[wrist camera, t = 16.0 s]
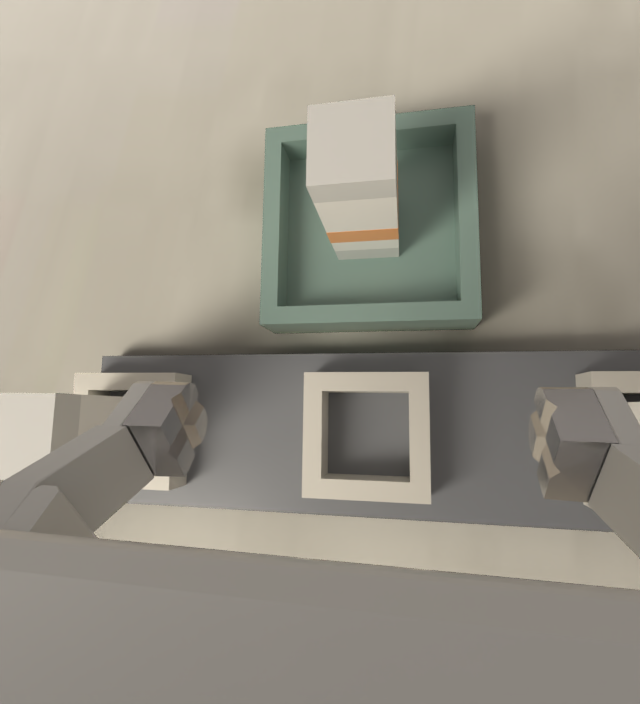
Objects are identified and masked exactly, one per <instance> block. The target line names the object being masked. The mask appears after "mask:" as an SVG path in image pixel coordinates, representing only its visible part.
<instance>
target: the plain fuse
mask: <svg viewBox="0 0 640 704" xmlns="http://www.w3.org/2000/svg"><path fill="white" fill-rule="evenodd" d="M122 398H123V397H120V396H101V395H82V394H62V393H0V480H6V479H7V478H9V477H11V476H12V475H14V474H16V473H17V472H19V471H21V470H22V469H24V468H26V467H27V466H29V465H31V464H32V463H34V462H36V461H37V460H39V459H41V458H42V457H44V456H46V455H47V454H49V453H51V452H52V451H54V450H56V449H57V448H59V447H61V446H63V445H64V444H66V443H68V442H69V441H71V440H73V439H74V438H76V437H78V436H79V435H81V434H83V433H84V432H86V431H88V430H89V429H91V428H93V427H94V426H96V425H102V424H103V423H104V422H105V420H106V419H107V418H108V416H109V415H110V414H111V412H112V411H113V410H114V408H115V407H116V406H117V404H118V403H119V402H120V400H121V399H122Z"/></svg>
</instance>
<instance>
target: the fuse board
mask: <svg viewBox="0 0 640 704" xmlns="http://www.w3.org/2000/svg"><path fill="white" fill-rule="evenodd" d="M138 381H153V382H155V381H164V382H190V383H193V384H195V386H196V388H197V390H198V393H199V395H198V397H197V399H196V401H198V402H199V403H200V404H201V405H203V406H204V408H205V411H206V413H207V420H208V424H207V431H206V435H205V437H204V439H203V441H202V443H200V444H199V445H198V446H196V447H195V448H194V449H193V450H194V453H195V458H194V460H193V462H192V464H191V466H190V468H189V470H188V472H187V474H186V476H185V477H166V476H154V479H153V480H151V481H150V482H149V483H148V484H147V485H146V486H145V487H144V488H142V489H141V490H140V491H139V492H138V493H137V494H136V495H135V496H134V497H132V498H131V499H130V500H129V501H128V502H127V503H130V504H147V505H164V506H181V507H198V508H215V509H232V510H248V511H265V512H282V513H299V514H316V515H333V516H350V517H367V518H384V519H401V520H418V521H435V522H451V523H468V524H485V525H502V526H519V527H536V528H553V529H570V530H587V531H604V532H614V531H613V530H612V529H611V528H610V527H609V526H608V525H607V524H606V523H605V522H604V521H603V520H602V519H601V518H600V517H599V516H598V515H597V514H596V513H595V512H594V511H593V510H592V509H591V507H590V506H589V505H588V503H587V502H575V501H564V500H552V499H544V498H543V494H542V490H541V487H540V483H539V480H538V476H537V469H538V465H539V462H538V461H537V460H536V459H535V458H534V457H532V454H531V450H530V445H529V438H528V432H529V421H530V415H531V414H532V413H534V412H535V411H536V410H537V409H536V406H535V403H534V397H535V393H536V391H537V389H538V387H588V388H589V387H617V388H618V389H620V390H621V392H622V394H623V396H624V398H625V399H626V401H627V402H640V350H605V351H516V352H427V353H338V354H249V355H160V356H103V358H102V371H101V373H75V377H74V389H73V394H82V395H101V396H120V397H123V396H124V395H125V394H126V392H127V391H128V390H129V388H130V387H131V386H132V384H133V383H136V382H138Z"/></svg>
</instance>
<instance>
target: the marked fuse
mask: <svg viewBox="0 0 640 704" xmlns="http://www.w3.org/2000/svg"><path fill="white" fill-rule="evenodd" d="M306 188H307V190H308V192H309V194H310V197H311V199H312V201H313V203H314V206H315V208H316V210H317V212H318V215H319V217H320V219H321V221H322V224H323V226H324V228H325V230H326V234H327V236H328V238H329V240H330V243H331V244H332V246H333V248H334V250H335V253H336V255H337V257H338V259H339V260H348V259H368V258H388V257H399V195H398V160H397V139H396V110H395V95H388V96H380V97H372V98H363V99H355V100H346V101H338V102H330V103H321V104H313V105H308V109H307V159H306Z"/></svg>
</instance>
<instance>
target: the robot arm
mask: <svg viewBox="0 0 640 704" xmlns="http://www.w3.org/2000/svg"><path fill="white" fill-rule="evenodd" d="M198 395H199V393H198V390H197V388H196V386H195V384H193V383H190V382H164V381H155V382H153V381H138V382H136V383H133V384H132V386H131V387H130V388H129V390H128V391H127V392H126V394H125V395H124V396H123V398H122V399H121V400H120V402H119V403H118V404H117V406H116V407H115V408H114V410H113V411H112V412H111V414H110V415H109V416H108V418H107V419H106V420H105V422H104V423H103V424H102V425H96V426H94V427H93V428H91V429H89V430H88V431H86V432H84V433H83V434H81V435H79V436H78V437H76V438H74V439H73V440H71V441H69V442H68V443H66V444H64V445H63V446H61V447H59V448H57V449H56V450H54V451H52V452H51V453H49V454H47V455H46V456H44V457H42V458H41V459H39V460H37V461H36V462H34V463H32V464H31V465H29V466H27V467H26V468H24V469H22V470H21V471H19V472H17V473H16V474H14V475H12V476H11V477H9V478H7V479H6V480H4V481H3V482H2V483H1V484H0V704H640V590H635V589H624V588H614V587H603V586H593V585H582V584H572V583H561V582H551V581H541V580H530V579H520V578H509V577H499V576H488V575H477V574H467V573H456V572H446V571H435V570H424V569H414V568H403V567H393V566H382V565H371V564H361V563H350V562H340V561H329V560H319V559H308V558H298V557H288V556H277V555H267V554H256V553H246V552H235V551H225V550H215V549H204V548H194V547H183V546H173V545H162V544H152V543H141V542H131V541H120V540H110V539H99V538H97V537H96V535H95V534H94V533H93V532H94V531H95V530H97V529H98V528H99V527H100V526H101V525H102V524H103V523H104V522H105V521H107V520H108V519H109V518H110V517H111V516H112V515H113V514H114V513H116V512H117V511H118V510H119V509H120V508H121V507H122V506H123V505H125V504H126V503H127V502H128V501H129V500H130V499H131V498H132V497H134V496H135V495H136V494H137V493H138V492H139V491H140V490H141V489H142V488H144V487H145V486H146V485H147V484H148V483H149V482H150V481H151V480H153V479H154V476H166V477H185V476H186V474H187V472H188V470H189V468H190V466H191V464H192V462H193V460H194V458H195V453H194V450H193V449H194V448H195V447H196V446H198V445H199V444H200V443H202V441H203V439H204V437H205V435H206V431H207V424H208V420H207V413H206V411H205V408H204V406H203V405H201V404H200V403H199V402H198V401H196V399H197V397H198ZM534 403H535V406H536V409H537V410H536V411H535V412H534V413H532V414H531V415H530V421H529V432H528V438H529V445H530V450H531V454H532V457H534V458H535V459H536V460H537V461H538V462H539V465H538V469H537V476H538V480H539V483H540V487H541V490H542V494H543V498H544V499H552V500H564V501H575V502H587V503H588V505H589V506H590V507H591V509H592V510H593V511H594V512H595V513H596V514H597V515H598V516H599V517H600V518H601V519H602V520H603V521H604V522H605V523H606V524H607V525H608V526H609V527H610V528H611V529H612V530H613V531H614V532H615V533H616V535H617V536H618V537H619V538H620V539H621V540H622V541H623V542H624V543H625V544H626V545H627V546H628V547H629V548H630V549H631V550H632V551H633V552H634V553H635V554H636V555H637V556H638V557H639V558H640V424H639V423H638V421H637V419H636V417H635V415H634V414H633V412H632V410H631V408H630V406H629V405H628V403H627V401H626V399H625V398H624V396H623V394H622V392H621V390H620V389H618V388H617V387H589V388H588V387H538V389H537V391H536V393H535V397H534Z"/></svg>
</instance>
